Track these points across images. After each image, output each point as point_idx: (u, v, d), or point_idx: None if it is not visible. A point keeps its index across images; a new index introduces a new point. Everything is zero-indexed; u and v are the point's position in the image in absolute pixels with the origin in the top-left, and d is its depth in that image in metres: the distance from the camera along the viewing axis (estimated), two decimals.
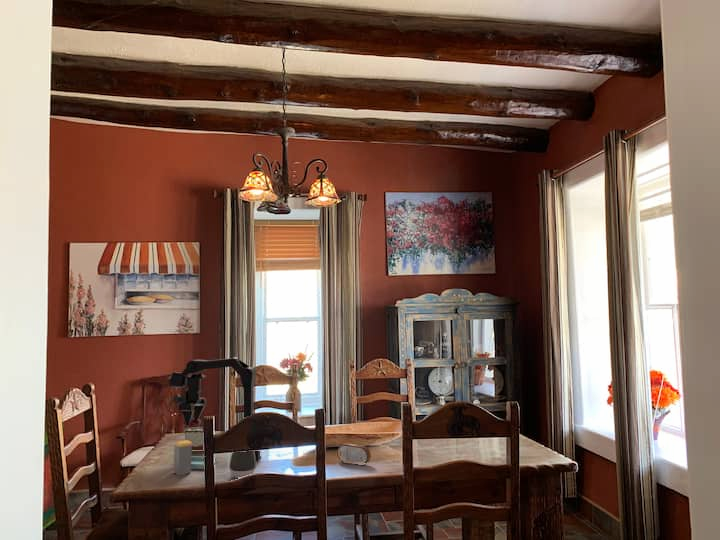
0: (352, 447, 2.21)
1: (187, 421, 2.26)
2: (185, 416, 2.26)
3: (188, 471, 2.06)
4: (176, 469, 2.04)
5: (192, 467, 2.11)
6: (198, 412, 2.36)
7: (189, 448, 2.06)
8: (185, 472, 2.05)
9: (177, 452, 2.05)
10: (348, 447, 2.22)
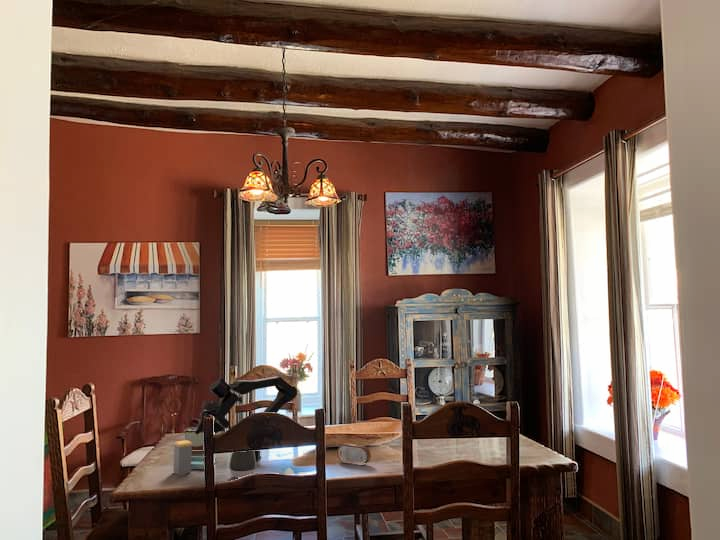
0: (352, 447, 2.21)
1: None
2: None
3: (188, 471, 2.06)
4: (176, 469, 2.04)
5: (192, 467, 2.11)
6: None
7: (189, 448, 2.06)
8: (185, 472, 2.05)
9: (177, 452, 2.05)
10: (348, 447, 2.22)
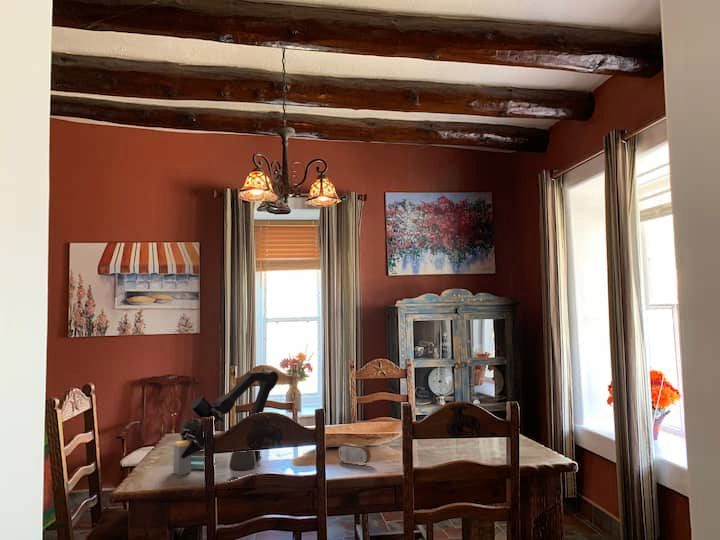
0: (352, 447, 2.21)
1: (186, 454, 2.04)
2: (189, 448, 2.05)
3: (188, 471, 2.06)
4: (176, 469, 2.04)
5: (192, 467, 2.11)
6: None
7: None
8: (185, 472, 2.05)
9: (177, 452, 2.05)
10: (348, 447, 2.22)
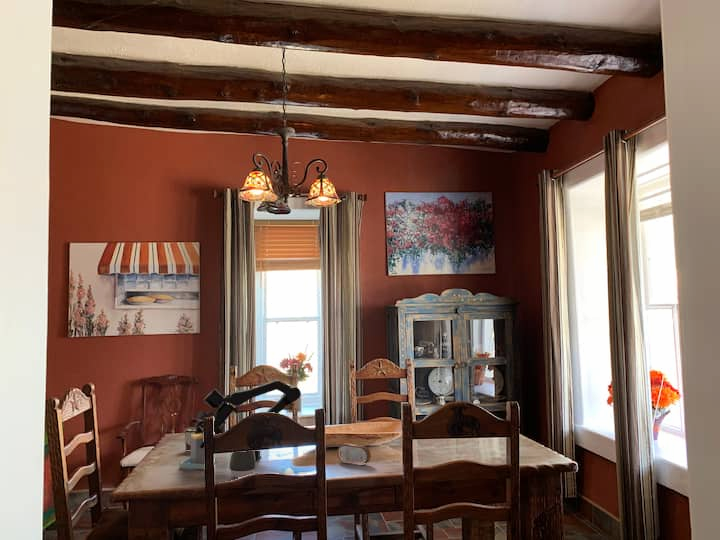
0: (352, 447, 2.21)
1: None
2: None
3: None
4: (193, 461, 2.15)
5: (192, 467, 2.11)
6: None
7: None
8: (201, 463, 2.15)
9: (193, 445, 2.16)
10: (348, 447, 2.22)
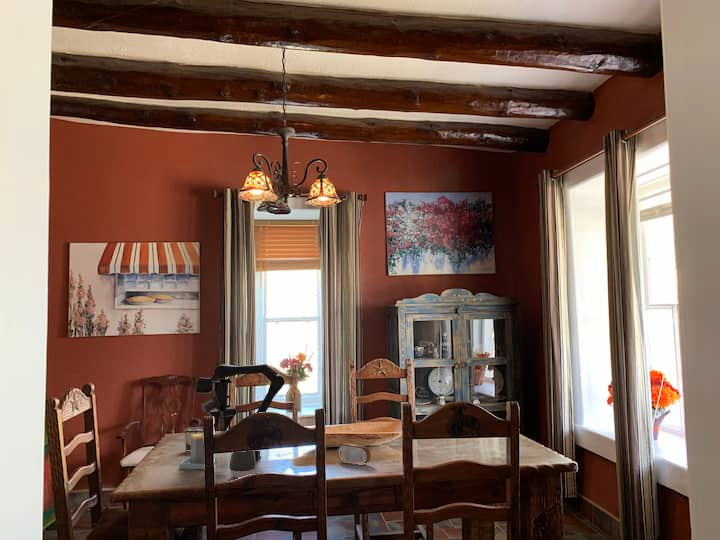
0: (352, 447, 2.21)
1: (226, 426, 2.23)
2: (225, 422, 2.23)
3: None
4: (193, 461, 2.15)
5: (192, 467, 2.11)
6: (217, 418, 2.31)
7: None
8: (201, 463, 2.15)
9: (193, 445, 2.16)
10: (348, 447, 2.22)
